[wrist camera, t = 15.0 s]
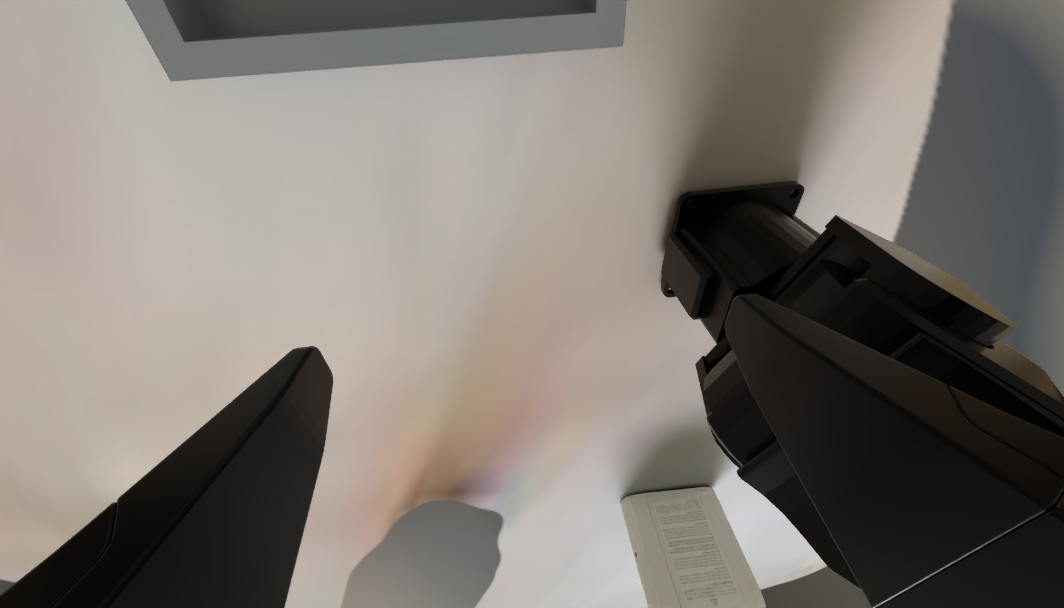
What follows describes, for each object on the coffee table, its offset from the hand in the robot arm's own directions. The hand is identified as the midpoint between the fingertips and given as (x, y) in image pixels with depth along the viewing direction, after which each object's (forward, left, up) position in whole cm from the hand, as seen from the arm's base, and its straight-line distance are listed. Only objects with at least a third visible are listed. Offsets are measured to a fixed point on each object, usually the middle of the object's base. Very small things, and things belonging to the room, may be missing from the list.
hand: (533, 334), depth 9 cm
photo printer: (-14, +38, -12) cm, 42 cm away
